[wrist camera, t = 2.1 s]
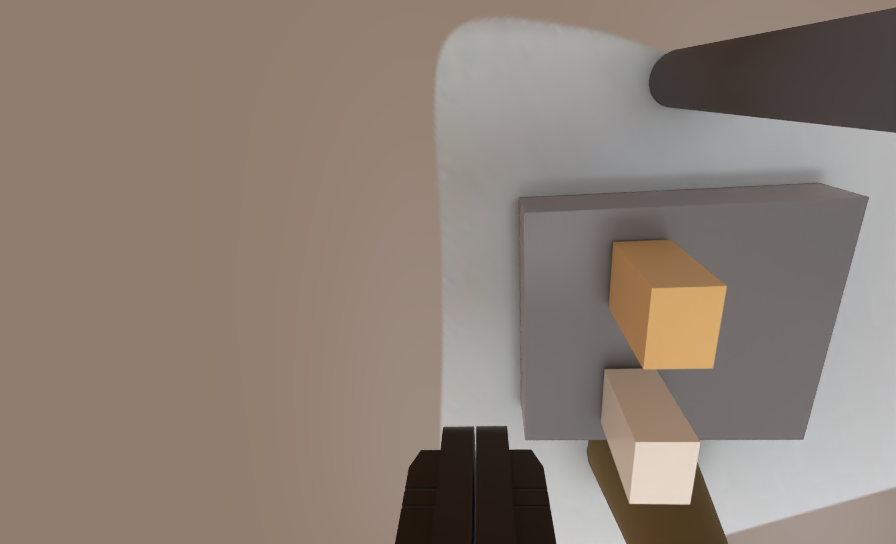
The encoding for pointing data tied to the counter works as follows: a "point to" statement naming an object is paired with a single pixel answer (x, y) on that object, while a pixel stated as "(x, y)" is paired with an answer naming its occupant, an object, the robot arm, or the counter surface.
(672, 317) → the block
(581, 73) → the counter surface
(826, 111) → the post
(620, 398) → the cream rectangular block
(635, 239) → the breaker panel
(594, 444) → the olive knobbed post
